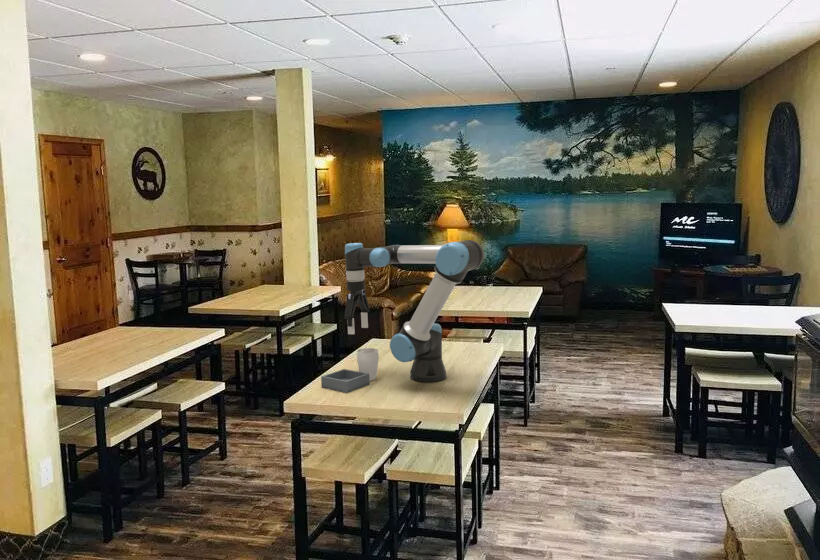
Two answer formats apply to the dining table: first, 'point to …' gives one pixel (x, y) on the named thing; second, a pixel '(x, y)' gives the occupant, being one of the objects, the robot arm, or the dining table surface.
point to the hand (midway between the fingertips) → (358, 330)
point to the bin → (345, 380)
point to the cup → (368, 361)
